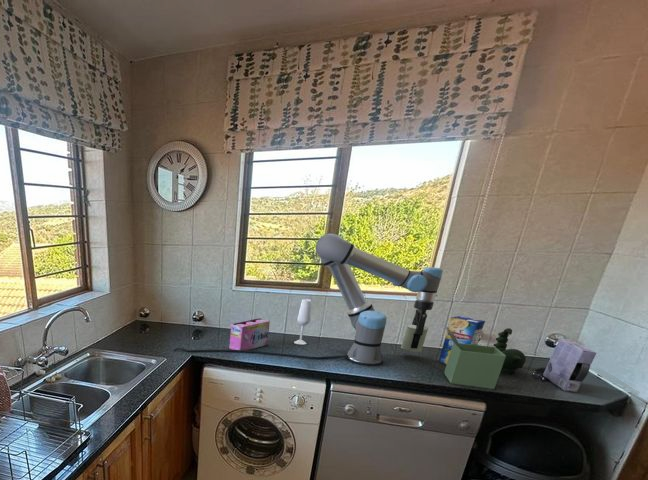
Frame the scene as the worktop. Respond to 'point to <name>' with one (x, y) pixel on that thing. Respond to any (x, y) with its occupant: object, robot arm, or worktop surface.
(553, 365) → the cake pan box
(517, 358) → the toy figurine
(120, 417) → the worktop surface
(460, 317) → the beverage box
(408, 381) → the worktop surface
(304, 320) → the champagne flute
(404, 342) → the can
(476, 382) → the green open box
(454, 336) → the flap
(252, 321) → the gum box
